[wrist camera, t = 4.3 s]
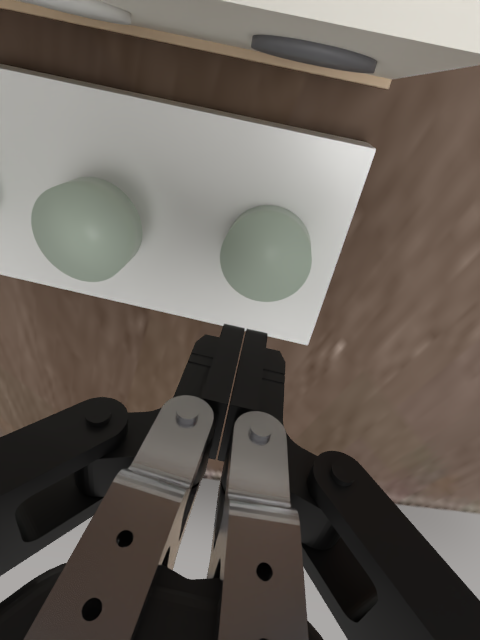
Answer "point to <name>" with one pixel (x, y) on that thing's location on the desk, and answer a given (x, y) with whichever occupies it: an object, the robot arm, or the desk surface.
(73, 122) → the button panel
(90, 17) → the pattern card
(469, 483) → the desk surface
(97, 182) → the button middle
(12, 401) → the desk surface
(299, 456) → the robot arm
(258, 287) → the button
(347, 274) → the desk surface
